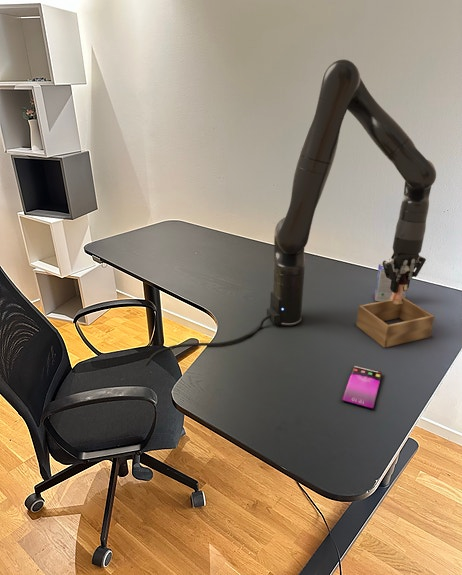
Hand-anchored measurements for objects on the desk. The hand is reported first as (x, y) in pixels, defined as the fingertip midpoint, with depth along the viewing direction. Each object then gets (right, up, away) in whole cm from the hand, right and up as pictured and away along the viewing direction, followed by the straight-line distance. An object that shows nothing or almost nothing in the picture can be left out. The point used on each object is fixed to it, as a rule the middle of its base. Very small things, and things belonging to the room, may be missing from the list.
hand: (398, 290), depth 128 cm
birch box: (0, -12, +6) cm, 14 cm away
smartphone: (-16, -24, -19) cm, 35 cm away
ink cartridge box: (+6, -3, +25) cm, 26 cm away
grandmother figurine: (0, -3, +2) cm, 4 cm away
